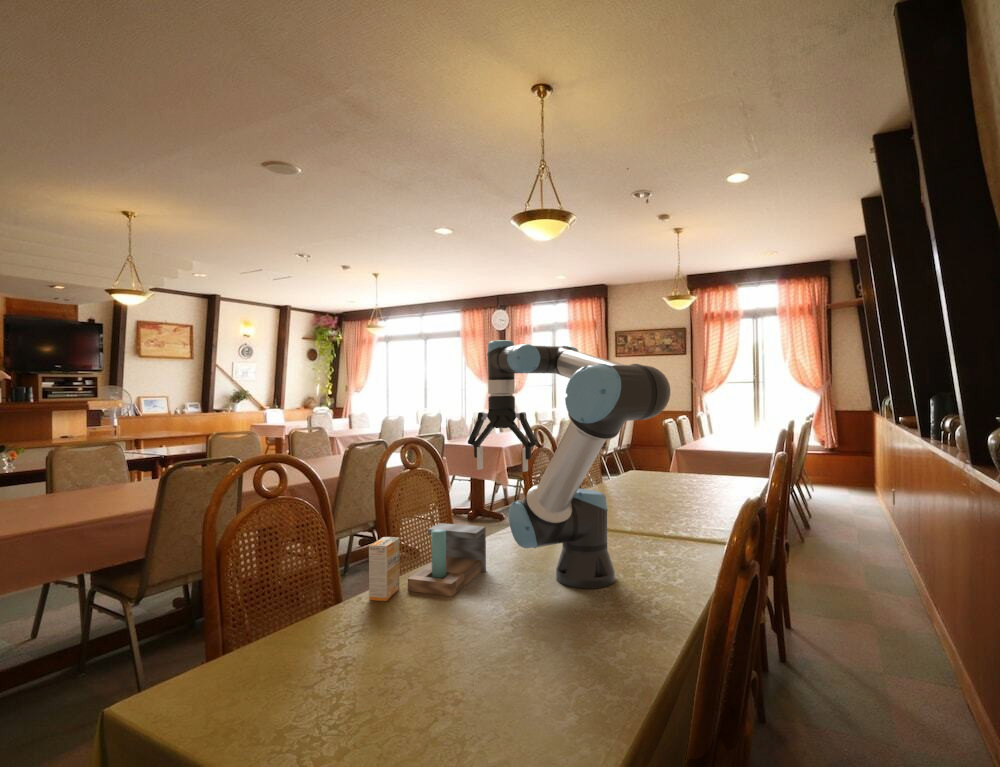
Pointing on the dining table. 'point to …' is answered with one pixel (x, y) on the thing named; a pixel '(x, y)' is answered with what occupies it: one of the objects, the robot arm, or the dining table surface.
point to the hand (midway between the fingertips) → (502, 470)
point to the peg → (438, 553)
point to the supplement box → (383, 568)
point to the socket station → (454, 560)
